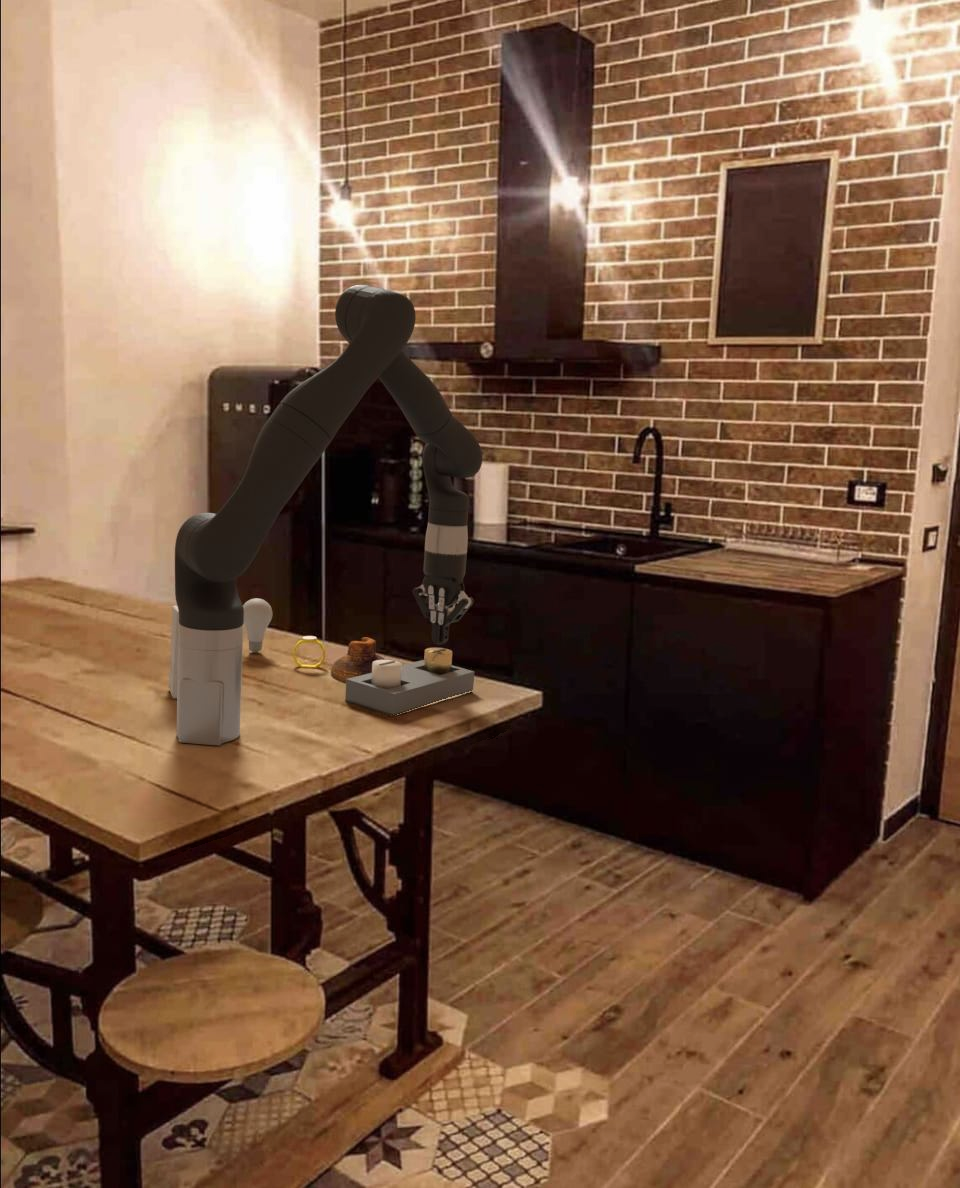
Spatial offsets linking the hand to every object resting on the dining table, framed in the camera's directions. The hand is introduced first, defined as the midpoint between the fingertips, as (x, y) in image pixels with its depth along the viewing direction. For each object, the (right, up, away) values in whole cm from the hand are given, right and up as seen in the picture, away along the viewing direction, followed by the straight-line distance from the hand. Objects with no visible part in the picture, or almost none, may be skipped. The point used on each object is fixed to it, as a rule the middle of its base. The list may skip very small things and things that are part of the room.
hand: (439, 643), depth 183 cm
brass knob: (0, -5, +1) cm, 6 cm away
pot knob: (-9, -7, -10) cm, 15 cm away
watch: (-25, -5, +10) cm, 28 cm away
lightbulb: (-37, -3, +17) cm, 41 cm away
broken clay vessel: (-15, -7, +7) cm, 18 cm away
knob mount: (-5, -9, -4) cm, 11 cm away
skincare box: (-41, -8, -11) cm, 43 cm away
